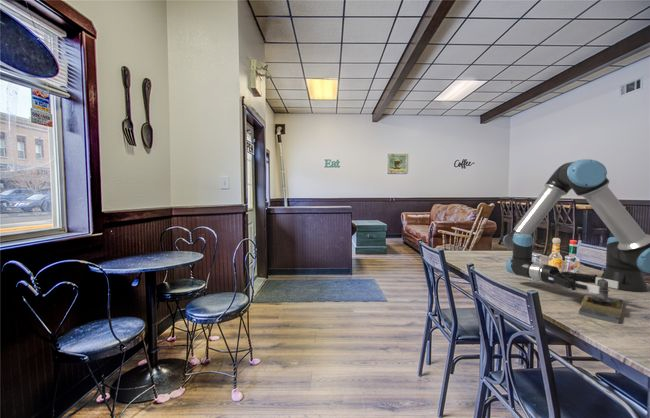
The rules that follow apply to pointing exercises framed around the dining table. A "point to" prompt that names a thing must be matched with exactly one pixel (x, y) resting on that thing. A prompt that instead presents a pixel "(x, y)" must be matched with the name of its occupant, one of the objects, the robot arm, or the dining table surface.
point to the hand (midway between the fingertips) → (608, 287)
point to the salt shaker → (602, 294)
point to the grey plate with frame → (601, 309)
